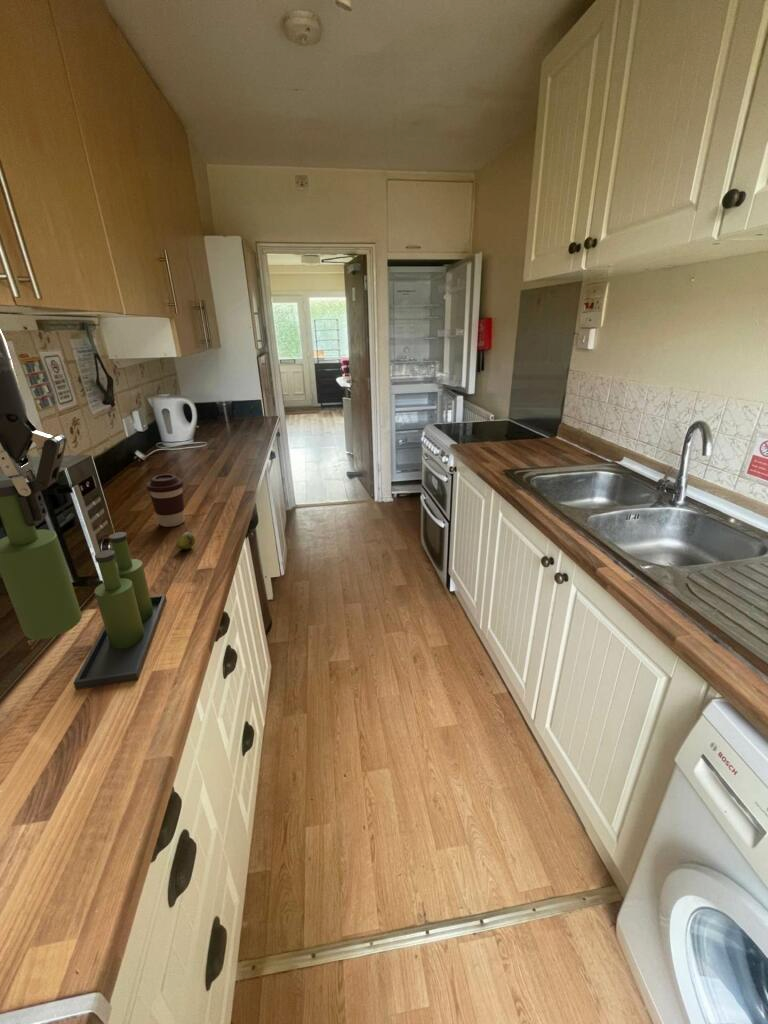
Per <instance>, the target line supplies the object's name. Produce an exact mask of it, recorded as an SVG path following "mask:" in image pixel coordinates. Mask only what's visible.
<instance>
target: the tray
mask: <svg viewBox="0 0 768 1024" xmlns="http://www.w3.org/2000/svg"><path fill="white" fill-rule="evenodd" d="M150 598H151V602H152V606H153V611H154V612H153V614H152V616H151V617H150V618H148V619H147V620H145V621H143V622H142V624H143V628H144V632H145V635H144V638H143V639H142V640H141V641H140V642H139V643H137V644H136V645H134V646H131V647H128V648H124V649H115V648H113V647H111V646H110V643H109V640H108V636H107V633H106V629H105V626H104V625H103V627H102V628H101V630H100V632H99V634H98V636H97V638H96V640H95V642H94V644H93V645H92V647H91V649H90V651H89V653H88V655H87V657H86V658H85V660H84V663H83V664H82V666H81V668H80V670H79V672H78V674H77V675H76V677H75V679H74V681H73V686H74V688H75V690H76V691H77V690H82V689H83V690H84V689H89V688H96V687H101V686H108V685H109V686H110V685H114V684H121V683H129V682H135V681H139V679H140V676H141V673H142V671H143V668H144V666H145V663H146V660H147V657H148V654H149V651H150V649H151V645H152V643H153V640H154V638H155V635H156V631H157V629H158V626H159V623H160V620H161V618H162V615H163V612H164V609H165V607H166V603H167V600H168V599H167V595H166V594H160V595H158V594H157V595H152V596H151V595H150Z"/></svg>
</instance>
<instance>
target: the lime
mask: <svg viewBox="0 0 768 1024" xmlns="http://www.w3.org/2000/svg"><path fill="white" fill-rule="evenodd" d="M195 544H196V538H195V536H194V534H193V533H192V532H189V531H187V532H183V533H182V534H181V535H180V536H179V538H178V539H177V542H176V547H177V548H178V550H183V551H184V550H185V551H187V550H190V549H191V548H193V547H194V545H195Z"/></svg>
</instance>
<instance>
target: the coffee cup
mask: <svg viewBox="0 0 768 1024" xmlns="http://www.w3.org/2000/svg"><path fill="white" fill-rule="evenodd" d="M183 487H184V480H183V479H182V478H180V477H178V476H177V475H175V474H173V473H163V474H158V475H155V476H153V477H151V479H150V481H148V482H146V490H147V491H148V492H150V499H151V502H152V505H153V509H154V513H155V514H156V517H157V519H158V523H159V525H160V526H161V527H165V528H172V527H177V526H179V525H180V526H181V525H182V524H184V522H185V521H186V518H185V501H184V491H183Z"/></svg>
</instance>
